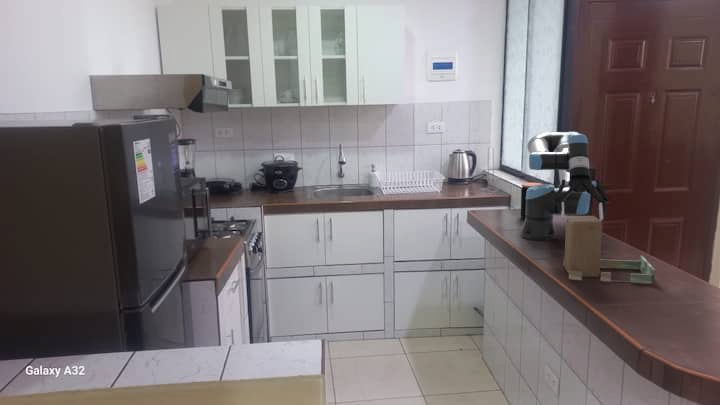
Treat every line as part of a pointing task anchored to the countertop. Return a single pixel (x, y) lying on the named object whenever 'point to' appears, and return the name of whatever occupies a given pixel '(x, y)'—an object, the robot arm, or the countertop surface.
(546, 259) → the countertop surface
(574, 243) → the wooden block
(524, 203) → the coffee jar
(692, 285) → the countertop surface
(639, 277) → the trap lane
